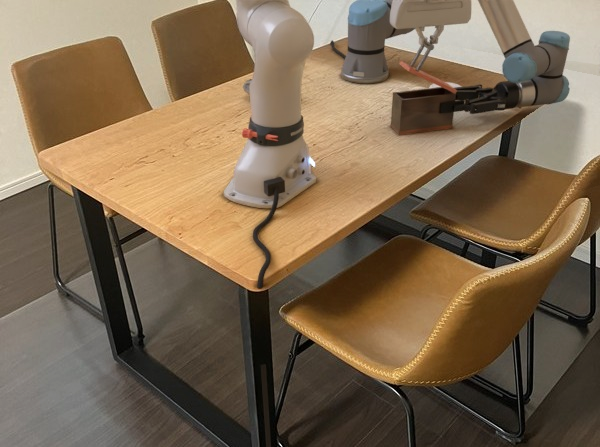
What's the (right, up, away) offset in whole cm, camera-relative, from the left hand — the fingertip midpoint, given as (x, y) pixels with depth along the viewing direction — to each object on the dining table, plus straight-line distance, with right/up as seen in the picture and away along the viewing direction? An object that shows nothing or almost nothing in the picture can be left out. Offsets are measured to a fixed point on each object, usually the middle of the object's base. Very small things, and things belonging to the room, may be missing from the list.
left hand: (428, 43), depth 154 cm
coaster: (+11, -8, +29) cm, 32 cm away
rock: (-41, -8, +30) cm, 52 cm away
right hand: (+4, -13, +9) cm, 17 cm away
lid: (+1, -8, +5) cm, 9 cm away
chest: (+1, -19, +12) cm, 22 cm away
